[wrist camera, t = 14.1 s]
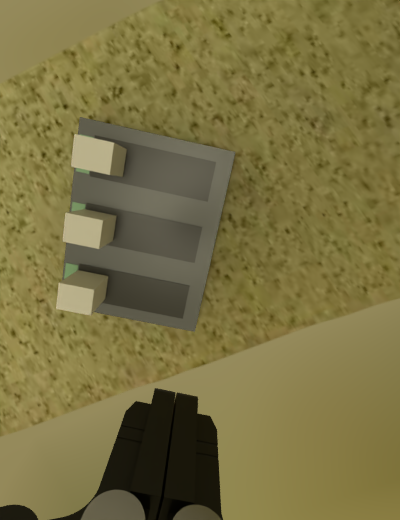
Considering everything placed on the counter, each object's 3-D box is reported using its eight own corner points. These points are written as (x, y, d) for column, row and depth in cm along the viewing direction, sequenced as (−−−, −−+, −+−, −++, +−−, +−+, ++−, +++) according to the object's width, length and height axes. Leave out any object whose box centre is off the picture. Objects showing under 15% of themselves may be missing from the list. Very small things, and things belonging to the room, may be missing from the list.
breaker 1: (126, 149, 26) (113, 142, 23) (122, 176, 27) (109, 174, 23) (93, 141, 26) (74, 133, 22) (89, 169, 27) (70, 166, 23)
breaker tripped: (116, 215, 28) (102, 220, 24) (112, 240, 28) (98, 249, 25) (84, 209, 28) (65, 212, 24) (81, 234, 28) (62, 241, 24)
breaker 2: (108, 276, 29) (94, 289, 25) (105, 298, 30) (90, 315, 26) (77, 270, 29) (58, 282, 25) (75, 292, 30) (56, 308, 26)
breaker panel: (232, 155, 30) (235, 152, 27) (195, 319, 34) (194, 332, 31) (92, 124, 29) (79, 116, 26) (72, 294, 33) (59, 305, 30)
